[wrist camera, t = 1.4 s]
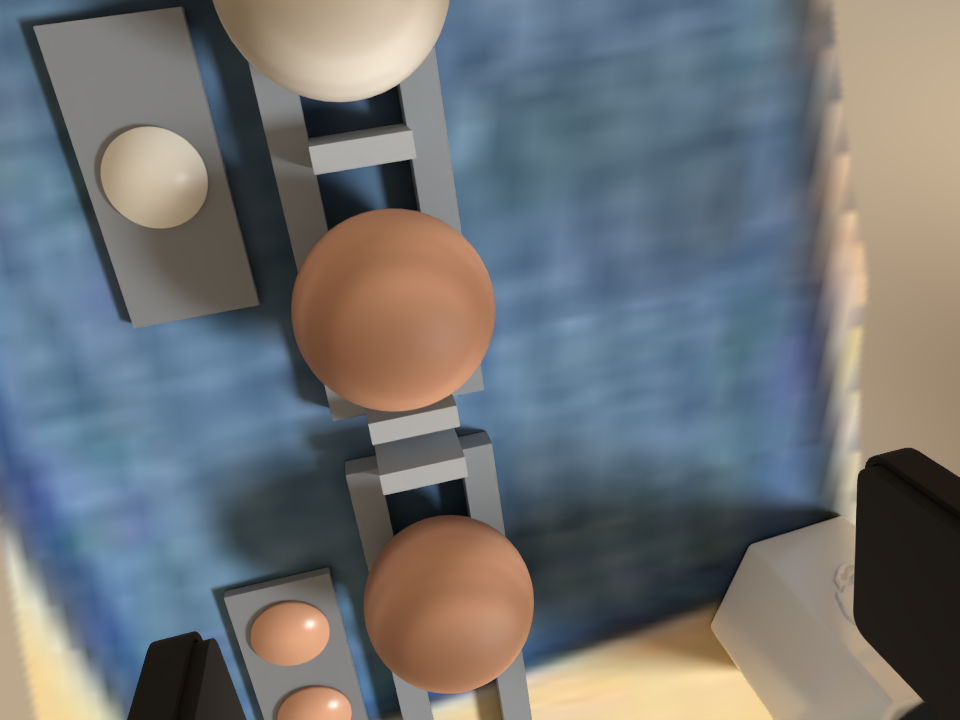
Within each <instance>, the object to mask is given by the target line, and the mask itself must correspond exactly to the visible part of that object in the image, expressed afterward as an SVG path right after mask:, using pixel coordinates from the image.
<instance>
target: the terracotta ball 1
mask: <svg viewBox="0 0 960 720" xmlns="http://www.w3.org/2000/svg"><path fill="white" fill-rule="evenodd" d="M291 318H292V324H293V330H294V335H295V338H296V342H297V345H298V347H299V349H300V352H301V354H302V356H303V358H304V359H305V361H306V363H307V364H308V366H309V367H310V369H311V370H312V372H313V373H314V374H315V375H316V376H317V377H318V379H319V380H320V381H321V382H322V383H323V384H324V385H326V386H327V387H328V388H329V389H330V390H332V391H333V392H335V393H336V394H338V395H339V396H341V397H342V398H344V399H346V400H348V401H350V402H352V403H354V404H356V405H359V406H362V407H365V408H369V409H374V410H378V411H389V412H393V411H407V410H414V409H418V408H422V407H425V406H428V405H431V404H433V403H436V402H438V401H440V400H442V399H444V398H445V397H447V396H449V395H450V394H452V393H453V392H454V391H456V390H457V389H459V388H460V387H461V386H462V385H463V384H464V383H465V382H466V381H467V380H468V379H469V378H470V377H471V376H472V374H473V373H474V372H475V371H476V369H477V368H478V366H479V365H480V363H481V362H482V360H483V358H484V356H485V354H486V352H487V349H488V346H489V344H490V341H491V338H492V334H493V329H494V323H495V301H494V293H493V288H492V283H491V280H490V277H489V275H488V272H487V270H486V268H485V266H484V264H483V262H482V260H481V258H480V256H479V255H478V254H477V252H476V251H475V249H474V248H473V246H472V245H471V244H470V243H469V242H468V241H467V240H466V239H465V238H464V237H463V236H462V235H461V234H459V233H458V232H457V231H456V230H455V229H453V228H452V227H451V226H449V225H447V224H446V223H444V222H443V221H441V220H439V219H437V218H435V217H432V216H430V215H428V214H424V213H421V212H418V211H413V210H407V209H391V208H388V209H379V210H373V211H369V212H364V213H361V214H358V215H356V216H353V217H351V218H348V219H347V220H345V221H343V222H341V223H339V224H337V225H336V226H335V227H333V228H332V229H331V230H329V231H328V232H327V233H325V234H324V235H323V236H322V237H321V238H320V239H319V240H318V241H317V242H316V244H315V245H314V246H313V247H312V249H311V250H310V251H309V252H308V254H307V256H306V258H305V259H304V261H303V263H302V265H301V267H300V270H299V272H298V274H297V277H296V280H295V284H294V288H293V292H292V301H291Z"/></svg>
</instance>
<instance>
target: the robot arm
mask: <svg viewBox="0 0 960 720" xmlns="http://www.w3.org/2000/svg"><path fill="white" fill-rule="evenodd" d="M853 617H854V620H855V624H856V626H857V628H858V630H859V632H860V634H861V635H862V636H863V638H864V639H865V640H866V641H867V642H868V643H869V644H870V645H871V646H872V647H873V648H874V649H875V651H876V652H877V653H878V654H879V655H880V656H881V657H882V658H883V659H884V660H885V661H886V662H887V663H888V664H889V665H890V666H891V667H892V668H893V669H894V670H895V671H896V673H897V674H898V675H899V676H900V677H901V678H902V679H903V680H904V681H905V682H906V683H907V684H908V685H909V686H910V687H911V688H912V689H913V690H914V691H915V692H916V693H917V695H918V696H919V697H920V698H921V699H922V700H923V701H924V702H925V703H926V704H927V705H928V706H929V707H930V708H931V709H932V710H933V711H934V712H935V713H936V714H937V715H938V717H939V718H940V719H941V720H960V477H958V476H956V475H955V474H953V473H952V472H950V471H949V470H947V469H946V468H944V467H943V466H941V465H939V464H938V463H936V462H935V461H933V460H931V459H930V458H928V457H927V456H925V455H924V454H922V453H920V452H919V451H917V450H915V449H913V448H904V449H899V450H895V451H891V452H887V453H884V454H880V455H876V456H873V457H871V458H869V459H868V461H867V462H866V465H865V469H863V470H861V471H860V472H859V474H858V479H857V508H856V538H855V567H854V597H853ZM127 720H246V717H245V714H244V712H243V709H242V706H241V704H240V701H239V698H238V696H237V693H236V690H235V688H234V685H233V682H232V680H231V677H230V674H229V672H228V669H227V666H226V664H225V661H224V658H223V656H222V653H221V650H220V648H219V645H218V643H217V641H216V640H215V639H213V638H212V639H208V640H204V641H203V640H202V637H201V636H200V634H199V633H198V632H195V631H194V632H190V633H186V634H182V635H178V636H174V637H171V638H167V639H163V640H159V641H155V642H153V643H151V644H150V646H149V648H148V650H147V654H146V657H145V660H144V664H143V667H142V671H141V674H140V678H139V681H138V684H137V688H136V691H135V695H134V698H133V702H132V705H131V708H130V712H129V715H128V719H127Z"/></svg>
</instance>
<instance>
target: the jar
mask: <svg viewBox="0 0 960 720" xmlns="http://www.w3.org/2000/svg"><path fill="white" fill-rule="evenodd" d="M855 538H856V525H854V524H853V523H852V522H851V521H850V520H849V519H848V518H846V517H844V516H839V517H835V518H832V519H829V520H826V521H823V522H819V523H816V524H813V525H810V526H807V527H804V528H800V529H797V530H794V531H791V532H788V533H785V534H781V535H778V536H775V537H772V538H769V539H765V540H762V541H759V542H756V543H753V544H751V545H750V546H749V547H748V549H747V551H746V553H745V555H744V557H743V559H742V561H741V563H740V566H739V568H738V570H737V572H736V574H735V576H734V578H733V580H732V582H731V584H730V586H729V588H728V590H727V592H726V594H725V596H724V598H723V601H722V603H721V605H720V607H719V609H718V611H717V613H716V615H715V617H714V619H713V621H712V623H711V629H712V631H713V633H714V634H715V636H716V637H717V639H718V640H719V641H720V643H721V644H722V646H723V647H724V649H725V650H726V652H727V653H728V654H729V656H730V657H731V659H732V660H733V662H734V663H735V665H736V666H737V668H738V669H739V670H740V672H741V673H742V675H743V676H744V678H745V679H746V681H747V682H748V683H749V685H750V686H751V688H752V689H753V691H754V692H755V694H756V695H757V697H758V698H759V699H760V701H761V702H762V704H763V705H764V707H765V708H766V710H767V711H768V712H769V714H770V715H771V717H772V718H773V720H941V719H940V718H939V717H938V715H937V714H936V713H935V712H934V711H933V710H932V709H931V708H930V707H929V706H928V705H927V704H926V703H925V702H924V701H923V700H922V699H921V698H920V697H919V696H918V695H917V693H916V692H915V691H914V690H913V689H912V688H911V687H910V686H909V685H908V684H907V683H906V682H905V681H904V680H903V679H902V678H901V677H900V676H899V675H898V674H897V673H896V671H895V670H894V669H893V668H892V667H891V666H890V665H889V664H888V663H887V662H886V661H885V660H884V659H883V658H882V657H881V656H880V655H879V654H878V653H877V652H876V651H875V649H874V648H873V647H872V646H871V645H870V644H869V643H868V642H867V641H866V640H865V639H864V638H863V636H862V635H861V634H860V632H859V630H858V628H857V626H856V624H855V620H854V617H853V597H854V567H855Z"/></svg>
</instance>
